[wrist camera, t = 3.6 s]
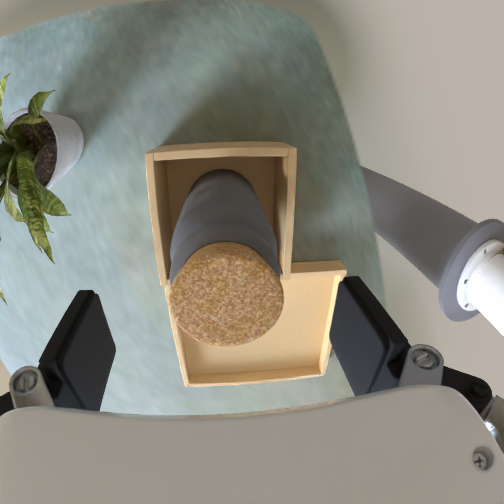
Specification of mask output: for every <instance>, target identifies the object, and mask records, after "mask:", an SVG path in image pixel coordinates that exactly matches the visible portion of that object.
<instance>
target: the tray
mask: <svg viewBox="0 0 504 504" xmlns="http://www.w3.org/2000/svg"><path fill="white" fill-rule="evenodd" d="M346 272H347V269H346V268H345V267H344V265H343V264H342V263H341V261H340V260H331V261H313V262H294V263H291V273H290V280H280V281H281V284H282V287H283V291H284V305H283V309H282V312H281V315H280V317H279V319H278V320H277V322H276V323H275V325H274V326H273V327H272V328H271V329H270V330H269V331H268V332H267V333H266V334H264V335H263V336H261V337H260V338H258V339H256V340H254V341H252V342H249V343H246V344H243V345H238V346H228V347H222V346H213V345H209V344H205V343H202V342H200V341H198V340H196V339H194V338H192V337H190V336H189V335H188V334H186V333H185V332H184V331H183V330H182V329H181V328H180V327H179V326H178V325H177V323H176V322H175V320H174V318H173V316H172V314H171V311H170V307H169V292H170V288H171V286H168V285H167V286H164V288H165V293H166V299H167V305H168V310H169V315H170V321H171V326H172V331H173V336H174V340H175V345H176V350H177V354H178V359H179V363H180V367H181V372H182V376H183V380H184V384H185V386H224V385H241V384H255V383H267V382H277V381H286V380H295V379H302V378H310V377H317V376H323V375H325V372H326V368H327V364H328V360H329V356H330V352H331V347H332V345H331V343H330V340H329V331H330V326H331V321H332V316H333V311H334V306H335V300H336V295H337V289H338V284H339V282H340V281H342V280H343V278H344V277H346Z"/></svg>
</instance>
